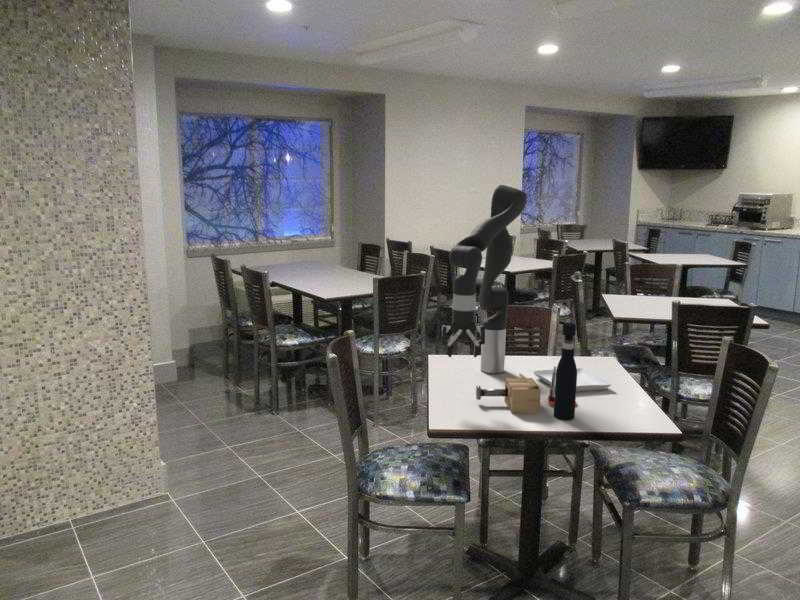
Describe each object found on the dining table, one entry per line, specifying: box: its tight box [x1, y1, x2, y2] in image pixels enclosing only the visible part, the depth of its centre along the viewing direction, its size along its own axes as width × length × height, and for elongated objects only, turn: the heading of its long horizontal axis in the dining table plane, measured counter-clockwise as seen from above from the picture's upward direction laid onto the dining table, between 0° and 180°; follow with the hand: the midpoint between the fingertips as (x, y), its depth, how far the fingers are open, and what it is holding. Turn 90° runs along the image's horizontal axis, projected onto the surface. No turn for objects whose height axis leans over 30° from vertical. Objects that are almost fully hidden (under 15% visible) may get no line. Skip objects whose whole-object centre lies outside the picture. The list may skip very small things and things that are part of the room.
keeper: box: [518, 372, 535, 387], centre depth 205 cm, size 3×6×1 cm
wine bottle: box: [552, 322, 578, 421], centre depth 199 cm, size 6×6×30 cm
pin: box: [475, 385, 508, 401], centre depth 212 cm, size 13×5×5 cm, turn 92°
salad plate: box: [532, 367, 612, 393], centre depth 235 cm, size 21×21×3 cm
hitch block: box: [503, 377, 542, 414], centre depth 210 cm, size 12×9×9 cm
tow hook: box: [547, 366, 578, 408], centre depth 213 cm, size 8×13×9 cm
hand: (462, 356), depth 209 cm, fingers open, 8 cm apart
